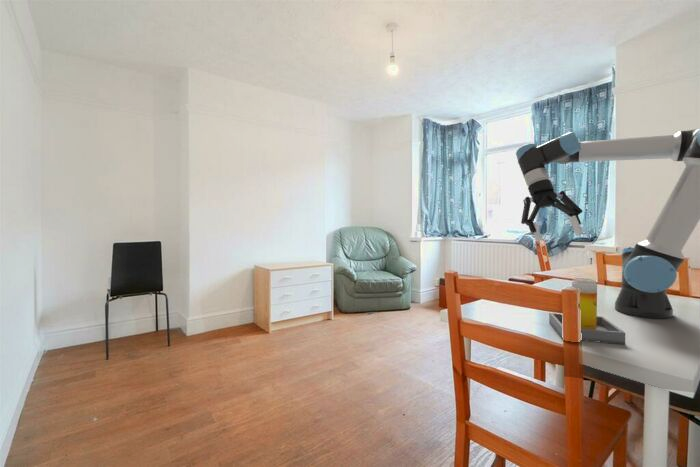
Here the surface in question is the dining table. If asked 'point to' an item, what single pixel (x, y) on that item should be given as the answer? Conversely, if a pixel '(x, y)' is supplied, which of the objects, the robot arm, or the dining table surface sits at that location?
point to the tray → (602, 333)
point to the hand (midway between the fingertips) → (559, 237)
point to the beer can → (587, 302)
